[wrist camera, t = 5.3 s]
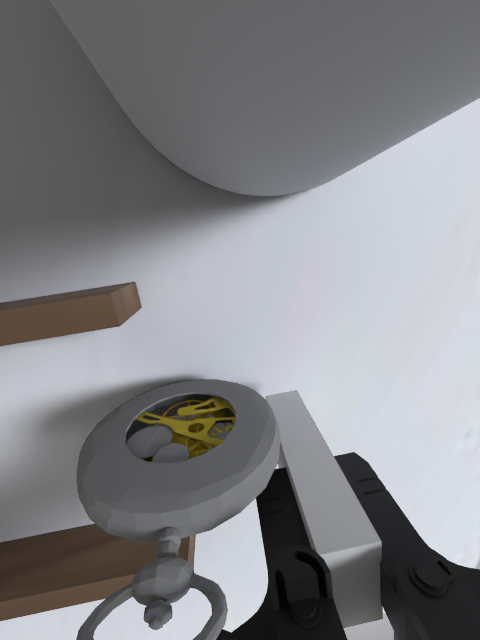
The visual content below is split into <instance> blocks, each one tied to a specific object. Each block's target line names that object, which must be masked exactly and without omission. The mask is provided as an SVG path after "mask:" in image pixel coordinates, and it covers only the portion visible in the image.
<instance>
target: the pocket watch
mask: <svg viewBox="0 0 480 640" xmlns="http://www.w3.org/2000/svg"><path fill="white" fill-rule="evenodd" d="M279 450H280V434H279V426H278V423H277V421H276V419H275V416H274V413H273V410H272V408H271V407H270V405H269V403H268V402H267V401H266V400H265V399H264V398H263V397H262V396H261V395H259V394H258V393H257V392H256V391H254V390H252V389H250V388H248V387H246V386H243V385H240V384H238V383H233V382H227V381H221V380H205V379H201V380H189V381H183V382H177V383H173V384H169V385H165V386H162V387H158V388H155V389H153V390H150V391H148V392H145V393H143V394H140V395H138V396H136V397H134V398H133V399H131V400H129V401H127V402H125V403H124V404H122V405H121V406H119V407H118V408H116V409H115V410H114V411H112V412H111V413H109V414H108V415H107V416H106V417H105V418H104V419H103V420H102V421H101V422H99V423H98V424H97V425H96V427H95V428H94V429H93V431H92V432H91V433H90V435H89V436H88V437H87V439H86V441H85V443H84V445H83V447H82V449H81V451H80V456H79V463H78V468H77V483H78V493H79V498H80V500H81V502H82V504H83V506H84V508H85V510H86V512H87V514H88V516H89V518H90V519H91V520H92V521H93V522H94V523H96V524H97V525H98V526H99V527H101V528H102V529H103V530H104V531H106V532H107V533H108V534H111V535H114V536H118V537H122V538H125V539H129V540H132V541H136V542H157V553H156V560H153V561H151V562H148V563H146V564H145V565H144V566H143V567H142V568H141V569H140V570H139V571H138V572H137V573H136V575H135V576H134V578H133V579H132V583H131V584H129V585H127V586H125V587H123V588H122V589H120V590H118V591H116V592H114V593H112V594H111V595H110V596H109V597H108V598H106V599H105V600H104V601H103V602H102V603H101V604H100V605H99V606H97V607H96V608H95V610H94V611H93V612H92V613H91V615H90V616H89V617H88V618H87V620H86V621H85V622H84V624H83V625H82V626H81V628H80V629H79V631H78V635H77V640H94V639H93V635H94V631H95V629H96V628H97V626H98V625H99V624H100V623H101V622H102V621H103V620H104V619H105V617H106V616H107V615H108V614H109V613H110V612H111V611H112V610H113V609H114V608H116V607H117V606H119V605H120V604H122V603H123V602H125V601H126V600H128V599H129V598H131V597H132V596H133V597H134V598H135V599H136V601H137V602H138V603H140V604H143V605H146V606H147V607H146V608H145V612H144V621H145V622H147V623H149V627H150V628H152V629H154V630H158V629H160V628H162V627H163V625H164V624H166V623H167V622H168V621H169V620H170V619H171V618H172V606H171V605H170V603H173V602H176V601H178V600H179V599H180V598H182V597H183V596H184V595H186V593H187V592H188V590H189V589H190V588H195V589H198V590H199V591H201V592H202V593H203V594H204V595H205V596H206V597H207V598H208V600H209V602H210V603H211V606H212V616H211V617H210V619H209V620H208V622H207V623H206V625H205V626H204V628H203V630H202V631H201V632H200V633H199V634H198V635H197V636H196V637H195V638H194V639H193V640H216V639H217V637H218V635H219V634H220V632H221V630H222V628H223V627H224V625H225V621H226V616H227V611H228V609H227V604H226V598H225V595H224V593H223V592H222V590H221V588H220V587H219V585H218V584H216V583H215V582H213V581H211V580H209V579H207V578H204V577H202V576H199V575H197V574H194V569H193V567H192V566H191V564H190V563H189V562H188V561H186V560H185V559H183V558H181V557H178V550H179V547H180V544H181V538H185V537H188V536H192V535H195V534H198V533H202V532H205V531H209V530H212V529H213V528H215V527H217V526H218V525H220V524H222V523H223V522H225V521H227V520H228V519H230V518H232V517H233V516H235V515H237V514H239V513H240V512H241V511H242V510H243V509H244V508H245V507H247V506H248V505H249V504H250V503H251V502H252V501H253V500H254V499H255V498H256V497H257V496H258V495H259V494H260V493H261V492H262V491H263V490H264V489H265V488H266V486H267V484H268V482H269V480H270V478H271V476H272V474H273V472H274V470H275V467H276V465H277V463H278V461H279Z"/></svg>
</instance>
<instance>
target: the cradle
mask: <svg viewBox="0 0 480 640" xmlns="http://www.w3.org/2000/svg"><path fill="white" fill-rule="evenodd" d="M141 308H142V306H141V302H140V298H139V295H138V291H137V287H136V283H135V282H131V283H125V284H118V285H112V286H106V287H99V288H93V289H87V290H81V291H74V292H68V293H62V294H55V295H49V296H43V297H37V298H30V299H24V300H18V301H11V302H5V303H0V346H4V345H10V344H16V343H22V342H28V341H34V340H40V339H46V338H52V337H58V336H64V335H70V334H76V333H82V332H88V331H94V330H100V329H106V328H112V327H118V326H121V325H122V324H123V323H124V322H125V321H127V320H128V319H129V318H130V317H131V316H132V315H134V314H135V313H136V312H137V311H138V310H139V309H141ZM195 536H196V534H195V535H192V536H188V537H185V538H181V544H180V547H179V550H178V557H181V558H183V559H185V560H186V561H188V562H189V563H190V564H191V566H192V567H194V551H195ZM156 553H157V542H136V541H132V540H129V539H125V538H122V537H118V536H114V535H111V534H108V533H107V532H106V531H104V530H103V529H102V528H101V527H99V526H98V525H97V524H94V525H89V526H84V527H79V528H74V529H69V530H64V531H59V532H54V533H49V534H44V535H39V536H34V537H29V538H24V539H19V540H14V541H10V542H5V543H0V621H3V620H8V619H12V618H17V617H22V616H26V615H31V614H36V613H40V612H45V611H50V610H54V609H59V608H64V607H68V606H73V605H78V604H82V603H87V602H92V601H96V600H101V599H106V598H108V597H109V596H110V595H111V594H112V593H114V592H116V591H118V590H120V589H122V588H123V587H125V586H127V585H129V584H131V583H132V579H133V578H134V576H135V575H136V573H137V572H138V571H139V570H140V569H141V568H142V567H143V566H144V565H145V564H146V563H148V562H151V561H153V560H156Z"/></svg>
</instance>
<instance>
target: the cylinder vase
mask: <svg viewBox="0 0 480 640" xmlns="http://www.w3.org/2000/svg"><path fill="white" fill-rule="evenodd" d="M49 1H50V3H51V4H52V6H53V7H54V9H55V10H56V12H57V13H58V15H59V16H60V18H61V19H62V20H63V22H64V23H65V25H66V26H67V28H68V29H69V31H70V32H71V34H72V35H73V37H74V38H75V40H76V41H77V43H78V44H79V46H80V47H81V49H82V50H83V52H84V53H85V55H86V56H87V58H88V59H89V61H90V62H91V64H92V65H93V66H94V68H95V69H96V71H97V72H98V74H99V75H100V77H101V78H102V80H103V81H104V83H105V84H106V86H107V87H108V89H109V90H110V92H111V93H112V95H113V96H114V98H115V99H116V101H117V102H118V104H119V105H120V107H121V108H122V109H123V111H124V112H125V114H126V115H127V117H128V118H129V119H130V121H131V122H132V123H133V124H134V126H135V127H136V128H137V129H138V131H139V132H140V133H141V134H142V135H143V136H144V137H145V138H146V139H147V141H148V142H149V143H150V144H151V145H152V146H153V147H154V148H155V149H156V150H158V151H159V152H160V153H161V154H162V155H163V156H164V157H166V158H167V159H168V160H169V161H171V162H172V163H173V164H175V165H176V166H177V167H179V168H180V169H182V170H183V171H185V172H186V173H188V174H190V175H192V176H193V177H195V178H197V179H199V180H201V181H203V182H205V183H207V184H210V185H212V186H215V187H217V188H220V189H223V190H227V191H230V192H234V193H239V194H245V195H253V196H280V195H288V194H293V193H298V192H302V191H305V190H309V189H312V188H315V187H317V186H320V185H322V184H324V183H327V182H329V181H331V180H333V179H335V178H337V177H338V176H340V175H342V174H344V173H346V172H347V171H349V170H351V169H353V168H355V167H356V166H358V165H360V164H362V163H364V162H365V161H367V160H369V159H371V158H372V157H374V156H376V155H378V154H380V153H381V152H383V151H385V150H387V149H389V148H390V147H392V146H394V145H396V144H398V143H399V142H401V141H403V140H405V139H407V138H408V137H410V136H412V135H414V134H416V133H417V132H419V131H421V130H423V129H425V128H426V127H428V126H430V125H432V124H434V123H435V122H437V121H439V120H441V119H442V118H444V117H446V116H448V115H450V114H451V113H453V112H455V111H457V110H459V109H460V108H462V107H464V106H466V105H468V104H469V103H471V102H473V101H475V100H477V99H478V98H480V0H49Z"/></svg>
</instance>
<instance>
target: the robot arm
mask: <svg viewBox="0 0 480 640" xmlns="http://www.w3.org/2000/svg"><path fill="white" fill-rule="evenodd" d="M265 398H266V401H267V402H268V403H269V405H270V407H271V408H272V410H273V413H274V416H275V419H276V421H277V423H278V426H279V434H280V450H279V461H278V466H279V469H275V470H274V472H273V474H272V476H271V478H270V480H269V482H268V484H267V486H266V488H265V489H264V490H263V491H262V492H261V493H260V494H259V495H258V496H257V497H256V501H257V507H258V513H259V519H260V526H261V532H262V538H263V544H264V550H265V557H266V563H267V569H268V588H267V593H266V596H265V599H264V601H263V603H262V605H261V606H260V608H259V610H258V611H257V612H256V613H255V614H254V615H253V616H252V617H251V618H250V619H249V620H248V621H246V622H245V623H244V624H242V625H241V626H240V627H238V628H237V629H236V630H234V631H233V632H232V633H231V632H228V631H226V630H223V629H222V630H221V632H220V634H219V635H218V637H217V639H216V640H347V638H346V635H345V632H344V629H343V628H346V627H349V626H354V625H358V624H363V623H367V622H371V621H376V620H380V619H383V616H382V615H383V613H382V606H383V608H384V610H385V612H386V614H387V617H388V619H389V621H390V623H391V625H392V627H393V629H394V640H480V570H479V569H473V568H467V567H464V566H460V565H457V564H455V563H452V562H450V561H448V560H447V559H446V558H445V557H443V556H442V555H440V554H439V553H437V552H436V551H434V550H433V549H431V548H430V547H429V546H428V545H427V544H426V543H425V542H424V541H423V540H422V538H421V537H420V536H419V534H418V533H417V531H416V530H415V529H414V527H413V526H412V524H411V523H410V522H409V520H408V519H407V517H406V516H405V514H404V513H403V512H402V510H401V509H400V507H399V506H398V504H397V503H396V502H395V500H394V499H393V497H392V496H391V495H390V493H389V492H388V490H386V487H385V486H384V485H383V483H382V482H381V480H380V479H378V476H377V475H376V473H375V472H374V470H373V469H372V468H371V466H370V465H369V463H368V462H367V461H365V460H364V459H363V458H361V457H360V456H359V455H357V454H356V453H355V452H353V453H348V454H343V455H338V456H333V454H332V452H331V451H330V449H329V447H328V445H327V444H326V442H325V440H324V438H323V436H322V435H321V433H320V431H319V429H318V428H317V426H316V424H315V422H314V420H313V419H312V417H311V415H310V413H309V411H308V410H307V408H306V406H305V404H304V403H303V401H302V399H301V397H300V395H299V394H298V392H297V390H295V391H290V392H285V393H280V394H274V395H269V396H265Z"/></svg>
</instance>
